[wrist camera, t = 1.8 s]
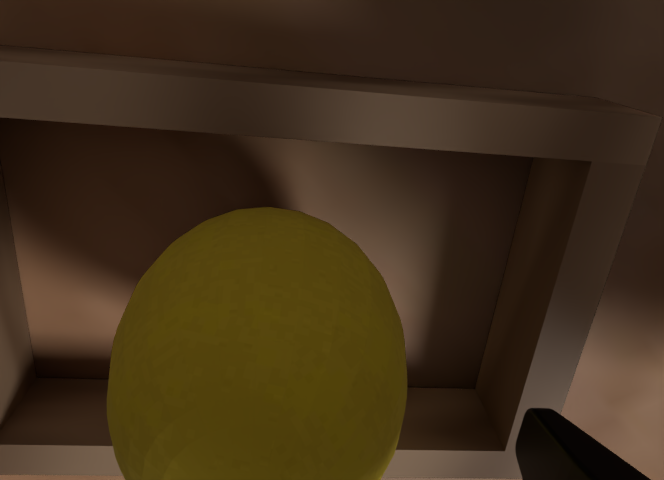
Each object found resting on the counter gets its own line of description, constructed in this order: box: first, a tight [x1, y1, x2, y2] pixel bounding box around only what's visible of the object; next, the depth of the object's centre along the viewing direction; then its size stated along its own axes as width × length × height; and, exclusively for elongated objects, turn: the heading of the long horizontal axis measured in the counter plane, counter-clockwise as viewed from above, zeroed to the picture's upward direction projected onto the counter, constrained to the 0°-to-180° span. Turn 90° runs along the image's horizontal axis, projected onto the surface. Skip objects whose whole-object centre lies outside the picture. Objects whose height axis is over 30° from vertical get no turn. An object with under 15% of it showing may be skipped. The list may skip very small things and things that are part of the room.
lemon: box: [107, 207, 407, 480], centre depth 10 cm, size 6×6×8 cm
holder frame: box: [0, 45, 663, 479], centre depth 13 cm, size 15×10×2 cm, turn 85°
